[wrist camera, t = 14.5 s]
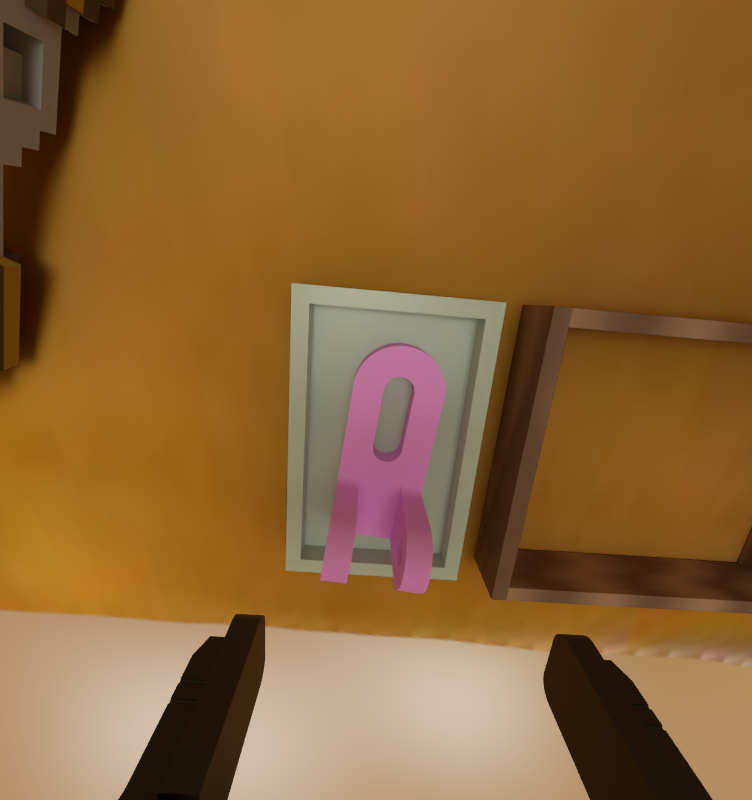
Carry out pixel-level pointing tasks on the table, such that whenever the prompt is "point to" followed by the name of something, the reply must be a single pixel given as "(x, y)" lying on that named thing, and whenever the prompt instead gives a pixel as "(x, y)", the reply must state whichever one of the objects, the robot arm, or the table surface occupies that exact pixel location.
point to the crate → (515, 470)
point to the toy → (28, 115)
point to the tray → (384, 411)
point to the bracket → (387, 469)
